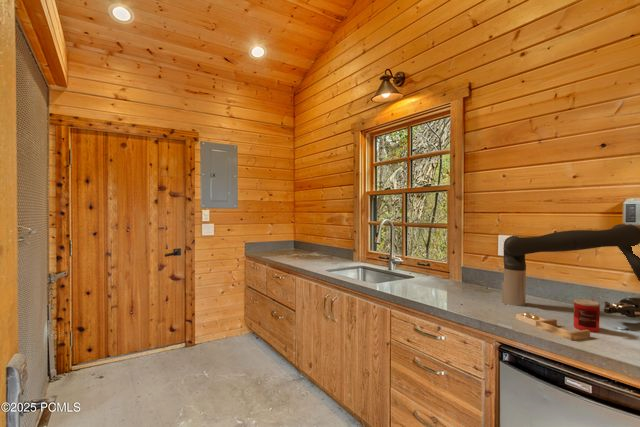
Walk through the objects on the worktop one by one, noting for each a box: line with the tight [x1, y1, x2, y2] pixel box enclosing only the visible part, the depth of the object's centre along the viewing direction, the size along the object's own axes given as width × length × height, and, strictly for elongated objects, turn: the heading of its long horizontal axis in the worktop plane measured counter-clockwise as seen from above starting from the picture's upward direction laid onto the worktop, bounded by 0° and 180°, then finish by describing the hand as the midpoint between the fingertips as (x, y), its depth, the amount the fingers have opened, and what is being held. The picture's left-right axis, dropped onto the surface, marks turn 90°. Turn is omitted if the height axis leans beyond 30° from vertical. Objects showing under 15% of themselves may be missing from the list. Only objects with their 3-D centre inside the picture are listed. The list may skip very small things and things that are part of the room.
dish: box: [515, 313, 547, 327], centre depth 136 cm, size 9×6×2 cm, turn 17°
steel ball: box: [523, 311, 532, 319], centre depth 138 cm, size 3×3×3 cm
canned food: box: [573, 298, 601, 333], centre depth 128 cm, size 8×8×11 cm
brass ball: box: [531, 314, 540, 320], centre depth 134 cm, size 3×3×3 cm
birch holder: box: [535, 318, 591, 341], centre depth 124 cm, size 13×9×3 cm
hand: (606, 310), depth 131 cm, fingers closed
